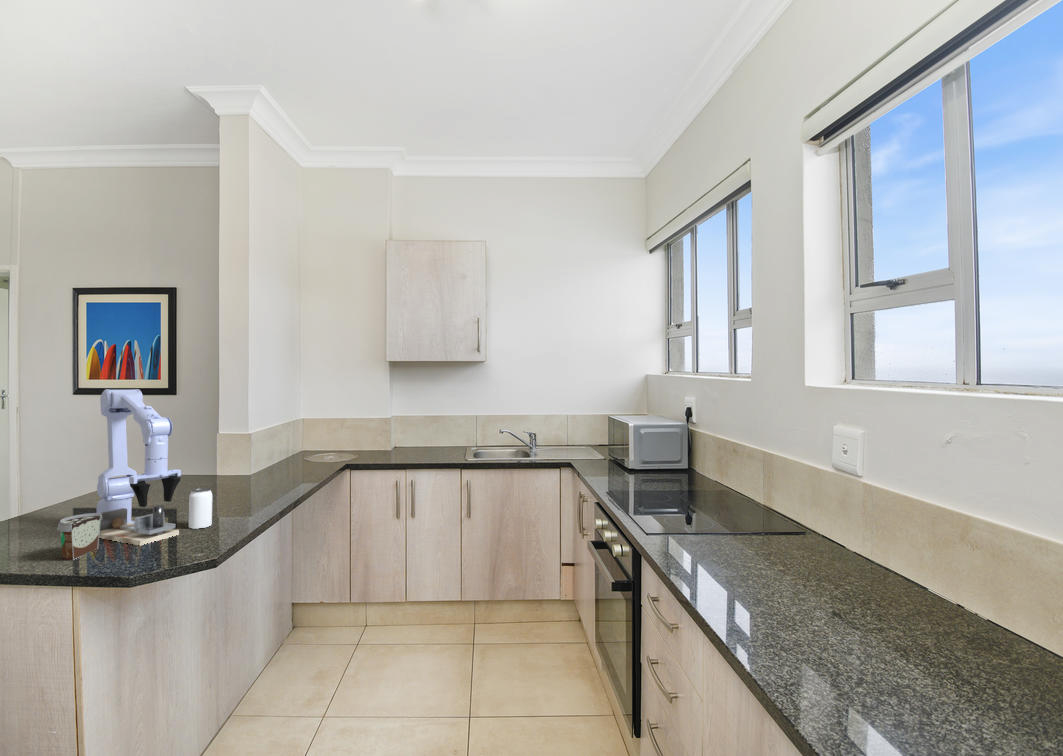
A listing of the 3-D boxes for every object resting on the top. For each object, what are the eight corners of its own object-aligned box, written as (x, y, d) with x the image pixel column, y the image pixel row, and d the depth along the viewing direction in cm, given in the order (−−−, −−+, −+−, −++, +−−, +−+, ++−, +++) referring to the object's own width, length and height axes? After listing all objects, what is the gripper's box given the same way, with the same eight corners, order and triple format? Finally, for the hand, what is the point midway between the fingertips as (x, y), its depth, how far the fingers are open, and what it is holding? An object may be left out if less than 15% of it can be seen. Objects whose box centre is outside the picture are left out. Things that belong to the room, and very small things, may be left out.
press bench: (87, 536, 165) (88, 515, 165) (128, 527, 177) (128, 506, 177) (140, 545, 158) (140, 523, 158) (178, 534, 170) (179, 513, 170)
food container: (78, 547, 155) (79, 512, 155) (101, 547, 156) (102, 512, 156) (43, 562, 143) (44, 524, 143) (68, 562, 144) (69, 524, 144)
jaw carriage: (134, 532, 162) (134, 507, 162) (160, 525, 169) (160, 502, 169) (149, 534, 160) (150, 509, 160) (175, 527, 167) (175, 504, 167)
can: (200, 530, 175) (201, 492, 175) (183, 528, 176) (184, 491, 176) (216, 525, 181) (217, 488, 181) (199, 523, 182) (200, 487, 182)
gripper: (141, 462, 156) (140, 510, 156) (188, 456, 170) (187, 500, 170) (124, 460, 159) (123, 508, 159) (171, 454, 172) (171, 498, 172)
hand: (155, 503), depth 164 cm, fingers open, 7 cm apart
